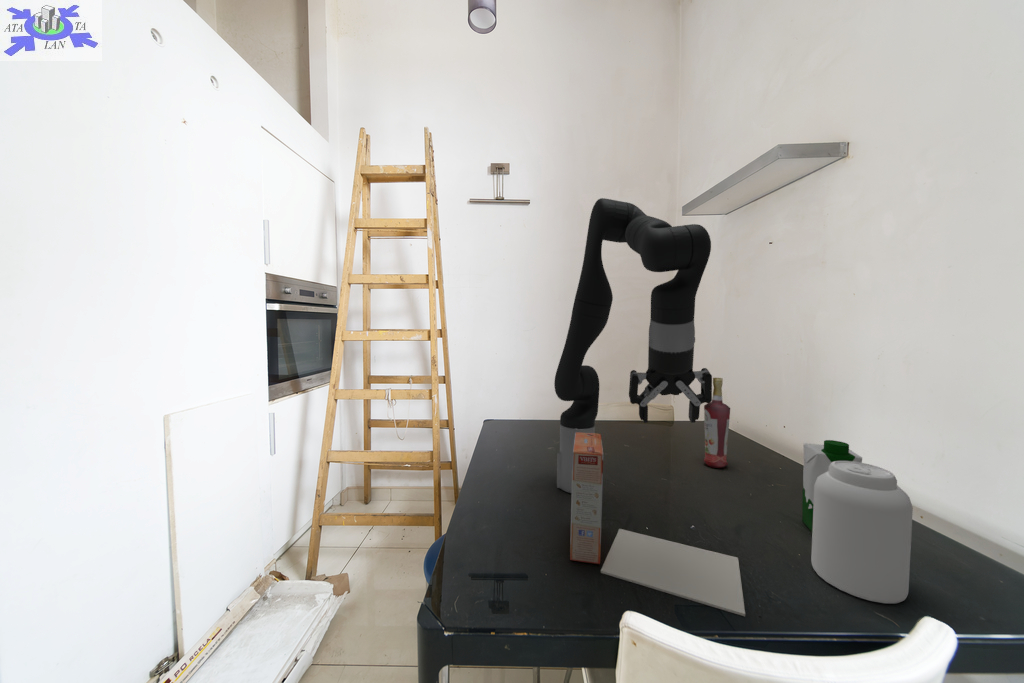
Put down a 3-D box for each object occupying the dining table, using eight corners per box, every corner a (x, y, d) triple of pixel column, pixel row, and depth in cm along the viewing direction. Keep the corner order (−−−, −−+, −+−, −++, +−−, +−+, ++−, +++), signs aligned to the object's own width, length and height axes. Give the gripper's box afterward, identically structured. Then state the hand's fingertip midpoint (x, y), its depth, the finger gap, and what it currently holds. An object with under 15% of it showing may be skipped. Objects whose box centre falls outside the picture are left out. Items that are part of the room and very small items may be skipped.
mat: (600, 572, 68) (600, 570, 68) (619, 530, 82) (619, 528, 82) (745, 616, 58) (745, 614, 58) (737, 559, 72) (737, 557, 72)
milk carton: (812, 538, 80) (815, 443, 79) (795, 518, 88) (799, 432, 87) (864, 546, 77) (868, 448, 76) (842, 524, 85) (846, 436, 85)
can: (888, 616, 58) (895, 487, 57) (796, 570, 69) (800, 461, 68) (921, 591, 64) (927, 473, 63) (831, 551, 75) (835, 451, 74)
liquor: (733, 470, 118) (736, 379, 117) (709, 469, 118) (712, 379, 117) (720, 461, 125) (723, 376, 124) (698, 461, 125) (700, 376, 124)
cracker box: (602, 566, 70) (604, 453, 69) (569, 561, 71) (570, 450, 70) (600, 527, 84) (602, 432, 83) (572, 524, 85) (573, 430, 84)
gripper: (707, 333, 70) (702, 410, 76) (627, 336, 73) (627, 410, 78) (721, 349, 63) (714, 432, 69) (631, 352, 66) (631, 431, 72)
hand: (667, 420), depth 74 cm, fingers open, 8 cm apart
